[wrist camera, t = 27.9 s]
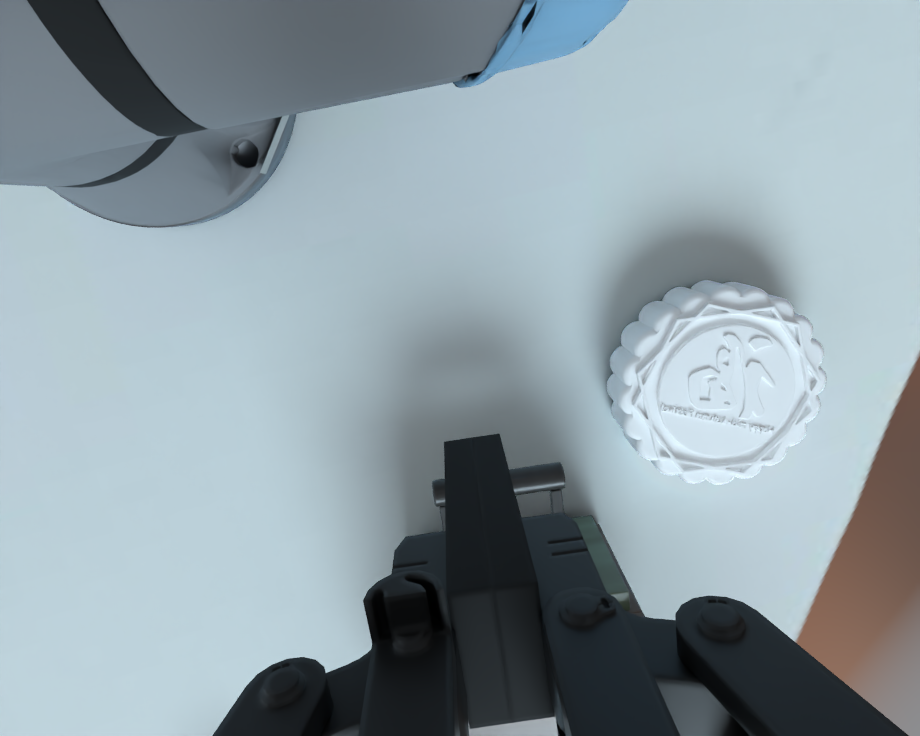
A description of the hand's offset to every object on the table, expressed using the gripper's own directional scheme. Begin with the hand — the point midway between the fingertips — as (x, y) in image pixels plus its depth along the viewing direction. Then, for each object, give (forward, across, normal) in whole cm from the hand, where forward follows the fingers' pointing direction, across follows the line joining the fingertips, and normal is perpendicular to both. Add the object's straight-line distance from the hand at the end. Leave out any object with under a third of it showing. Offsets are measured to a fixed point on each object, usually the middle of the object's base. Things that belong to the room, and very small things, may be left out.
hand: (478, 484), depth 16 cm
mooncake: (+21, +14, -5) cm, 26 cm away
